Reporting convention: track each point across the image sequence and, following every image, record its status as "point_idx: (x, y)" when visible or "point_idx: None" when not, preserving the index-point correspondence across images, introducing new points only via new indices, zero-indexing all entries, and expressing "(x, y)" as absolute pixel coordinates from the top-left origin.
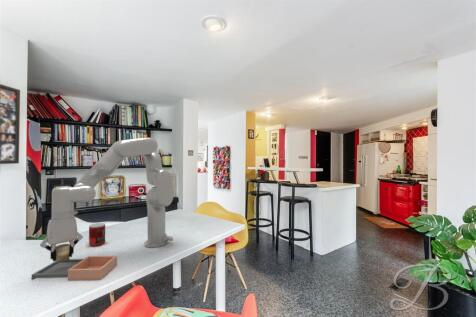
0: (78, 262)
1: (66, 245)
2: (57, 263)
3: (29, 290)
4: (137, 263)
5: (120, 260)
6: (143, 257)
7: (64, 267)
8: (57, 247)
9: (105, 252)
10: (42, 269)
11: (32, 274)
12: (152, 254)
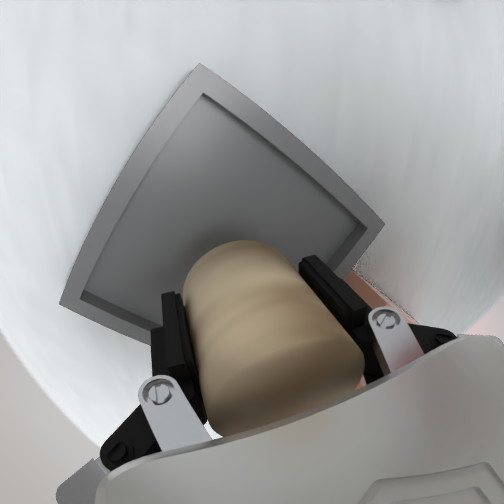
0: (324, 201)
1: (330, 394)
2: (188, 115)
3: (110, 390)
4: (446, 323)
5: (443, 270)
6: (476, 283)
7: None
8: (237, 427)
9: (449, 107)
10: (97, 249)
11: (62, 304)
12: (493, 272)
